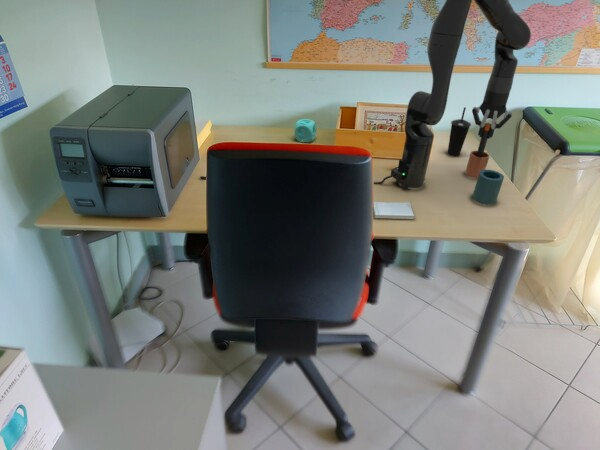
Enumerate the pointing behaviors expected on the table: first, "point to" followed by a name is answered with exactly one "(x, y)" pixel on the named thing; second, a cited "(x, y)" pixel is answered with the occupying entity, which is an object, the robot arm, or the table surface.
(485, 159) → the pen cup
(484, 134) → the marker
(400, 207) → the hard drive
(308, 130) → the decorative dice
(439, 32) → the robot arm
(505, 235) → the table surface
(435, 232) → the table surface
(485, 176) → the jar
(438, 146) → the table surface
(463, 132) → the drinking cup
